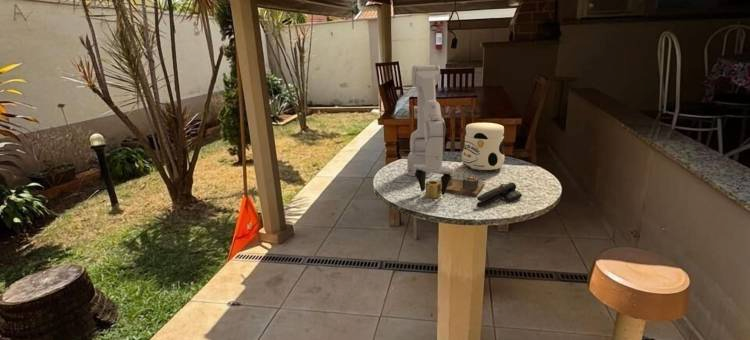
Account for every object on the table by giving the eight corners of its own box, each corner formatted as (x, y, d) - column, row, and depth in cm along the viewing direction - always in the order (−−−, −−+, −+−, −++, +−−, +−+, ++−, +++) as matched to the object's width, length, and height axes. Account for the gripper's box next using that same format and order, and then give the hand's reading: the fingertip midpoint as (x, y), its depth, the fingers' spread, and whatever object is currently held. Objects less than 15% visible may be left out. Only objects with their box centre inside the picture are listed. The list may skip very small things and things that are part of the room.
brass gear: (423, 197, 136) (423, 184, 134) (428, 192, 140) (429, 179, 138) (437, 199, 133) (437, 186, 132) (442, 194, 138) (442, 181, 136)
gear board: (433, 189, 142) (433, 176, 141) (443, 180, 151) (443, 167, 150) (476, 196, 135) (477, 182, 133) (484, 186, 144) (485, 173, 142)
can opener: (508, 193, 138) (510, 178, 136) (524, 200, 132) (525, 184, 130) (469, 203, 130) (470, 188, 128) (484, 211, 124) (485, 195, 122)
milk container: (455, 170, 162) (457, 128, 156) (469, 159, 176) (471, 120, 170) (497, 177, 153) (500, 132, 148) (507, 165, 167) (511, 124, 161)
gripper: (409, 156, 132) (409, 192, 136) (450, 161, 125) (449, 199, 130) (417, 150, 138) (417, 186, 142) (457, 155, 131) (455, 192, 136)
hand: (433, 192), depth 136 cm, fingers open, 7 cm apart
